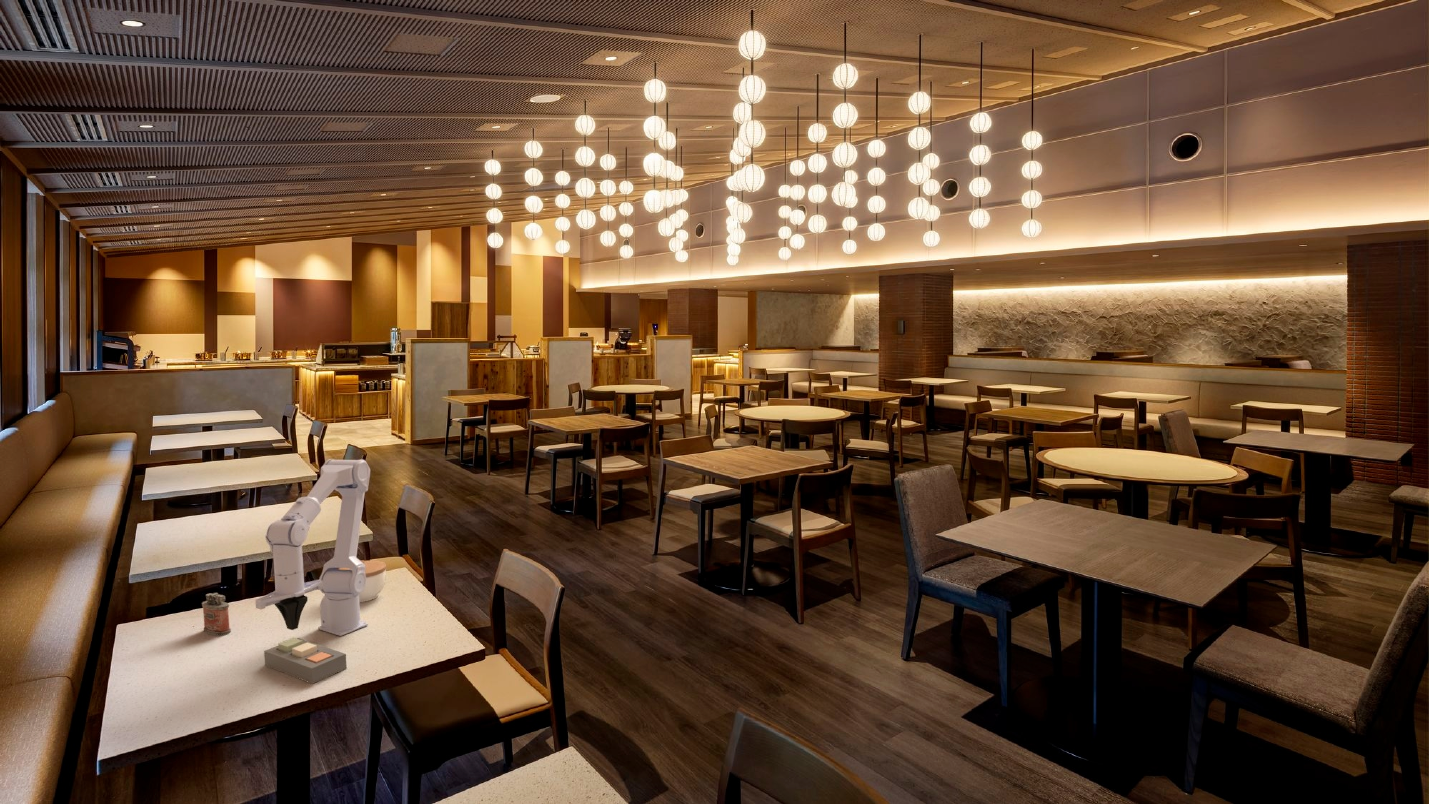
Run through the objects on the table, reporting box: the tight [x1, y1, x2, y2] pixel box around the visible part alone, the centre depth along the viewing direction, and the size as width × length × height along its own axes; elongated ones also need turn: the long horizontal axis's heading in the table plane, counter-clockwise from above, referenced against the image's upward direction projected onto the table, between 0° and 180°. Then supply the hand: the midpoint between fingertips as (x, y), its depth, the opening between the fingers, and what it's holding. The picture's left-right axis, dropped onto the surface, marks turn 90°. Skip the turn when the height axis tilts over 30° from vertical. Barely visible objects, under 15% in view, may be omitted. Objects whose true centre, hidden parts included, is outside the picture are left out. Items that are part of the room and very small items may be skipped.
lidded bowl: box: [337, 559, 387, 603], centre depth 205 cm, size 13×13×11 cm
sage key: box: [277, 637, 303, 653], centre depth 166 cm, size 4×4×2 cm
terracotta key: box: [307, 652, 332, 664], centre depth 161 cm, size 4×4×2 cm
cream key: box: [292, 642, 317, 658], centre depth 163 cm, size 4×4×2 cm
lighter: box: [201, 592, 231, 637], centre depth 182 cm, size 8×3×10 cm, turn 68°
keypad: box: [263, 637, 347, 685], centre depth 163 cm, size 18×8×4 cm, turn 62°
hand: (292, 628), depth 165 cm, fingers closed
